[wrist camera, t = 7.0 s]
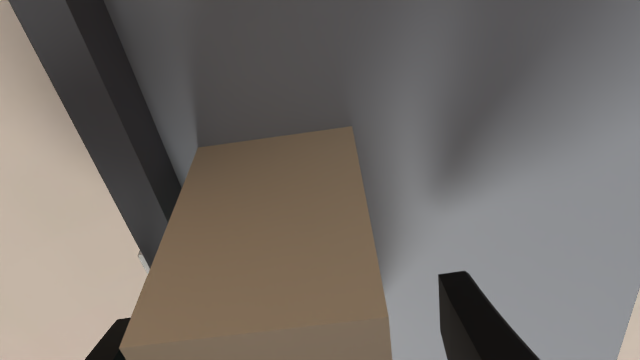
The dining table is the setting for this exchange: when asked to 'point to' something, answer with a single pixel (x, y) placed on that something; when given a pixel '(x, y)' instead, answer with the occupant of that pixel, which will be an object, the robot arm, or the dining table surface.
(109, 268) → the dining table surface
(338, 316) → the carton
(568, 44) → the shelf board
